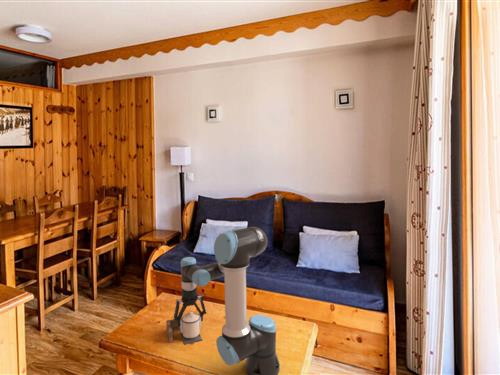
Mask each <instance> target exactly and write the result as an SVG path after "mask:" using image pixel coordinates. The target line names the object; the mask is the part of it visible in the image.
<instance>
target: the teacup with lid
mask: <svg viewBox="0 0 500 375" xmlns="http://www.w3.org/2000/svg"><path fill="white" fill-rule="evenodd" d="M198 314H199V313H197V312H193V311H189V312H188V313H185V314H183V315H182V318H181V319H182V330H183V336H184V337H186V338H194V337H196V336H198V335H199V334H200V330H201V328H199V319H200V316H199V315H198Z"/></svg>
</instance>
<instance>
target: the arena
mask: <svg viewBox="0 0 500 375" xmlns="http://www.w3.org/2000/svg"><path fill="white" fill-rule="evenodd" d="M165 321H166V323H165V324H166V326H165V327H166V333H167V338H168V341H169V344H171V343H173V342H174V339H173V338H174V335H173V332H176V331H179V332H180V335H181V336H180V337H181V338H182V341H183V344H184V345H185V346H186V345H189V344H193V343H197V342H202V341H203V338H202V337H201V334H200V333H199V335H198V336H196V337H194V338H186V337H184V336H183V330H182V333H181V331H180V326H178V320H174V318H172V319H168V320H165Z"/></svg>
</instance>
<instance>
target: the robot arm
mask: <svg viewBox="0 0 500 375" xmlns="http://www.w3.org/2000/svg"><path fill="white" fill-rule="evenodd" d="M267 246H268V238H267V235H266V233H265V231H263V229H261V228H259V227H257V226H248V227H244V228H240V229H233V230H232V229H231V230H226V231H225V232H222V233H220V234H218V235H217V237H216V238H215V240H214V245H213V255H215V256H214V257H215V260H216V262H214V263H210V264H207V265H202V266H199V265H197V260H196V258H195V257H194V256H193V257H192V256H186V257H183V258H182V259H181V260H180V278H181V298H180V299H176V300H175V308H174V313H173V314H174V315H173V319H174V320H178V326H180V330H179V332H180V331H181V333H182V319H181V318H182V317H183V316H184V313H185V311H186V309H187V307H190V306H194V307H195V309H196V311H197V312H198V313H197V314H198V315H199V316H200V319H199V328H200V329H202V322H203V321H204V315H206V314H207V311H206V310H207V309H206V307H205V303H204V297H203V295H202V294H201V295H198V288H197V286H199V287H206V286H207V285H208V284H209V283H210V281H213V280H217V279H219V278H222V277H224V278H223V279H224V309H225V310H224V312H225V313H224V315H225V324H223V325H222V327H221V335H220V336H218V337H216V342H215V344H216V348H217V352H218V353H219V356H220V357H221V360H222V361H223V362H224V363H226V365H228V366H233V365H236V364H239V363H240V362H242V361H244V360H246V361H245V365H244V366H245V367H244V368H245V372H246V374H247V375H278V374H279V373H280V369H281V366H280V365H281V364H280V360H279V358H278V354H277V351H276V350H277V348H276V346H277V343H276V342H277V328H276V325H277V324H276V322H275V320H274V319H273V318H272V317H270V316H267V315H263V314H255V315H252V316H250V317H249V320H247V318H248V317H247V268H248V267H249V266H250V263H251V262H250V258H253V257H258V256H259V255H261V254H262V253H264V251H266V248H267ZM198 300H199V302H200V306H201V308H200V307H199V305H198V304H197V301H198ZM181 303H182V306H181V307H180V304H181ZM201 309H202V310H201ZM247 321H248V322H247ZM181 333H180V334H181Z"/></svg>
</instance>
